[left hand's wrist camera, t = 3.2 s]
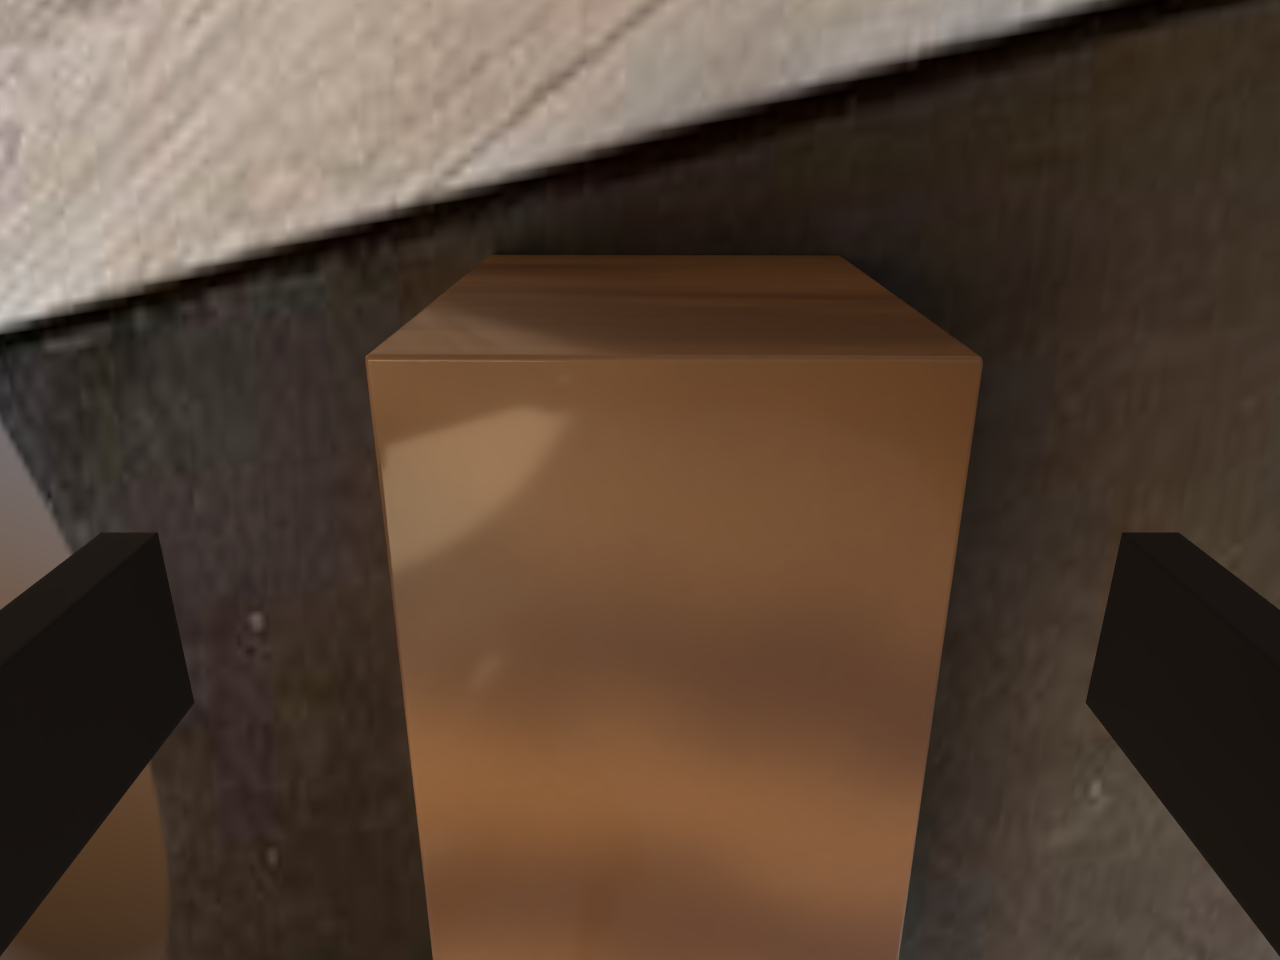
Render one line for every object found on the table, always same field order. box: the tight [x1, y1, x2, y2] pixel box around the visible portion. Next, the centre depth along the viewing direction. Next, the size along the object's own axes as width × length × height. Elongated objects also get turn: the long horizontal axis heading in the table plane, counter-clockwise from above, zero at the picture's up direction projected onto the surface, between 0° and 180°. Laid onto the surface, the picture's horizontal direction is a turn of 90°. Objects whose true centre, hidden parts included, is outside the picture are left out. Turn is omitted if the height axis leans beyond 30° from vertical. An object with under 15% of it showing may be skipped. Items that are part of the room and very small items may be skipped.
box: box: [365, 255, 983, 960], centre depth 22 cm, size 21×9×11 cm, turn 0°
